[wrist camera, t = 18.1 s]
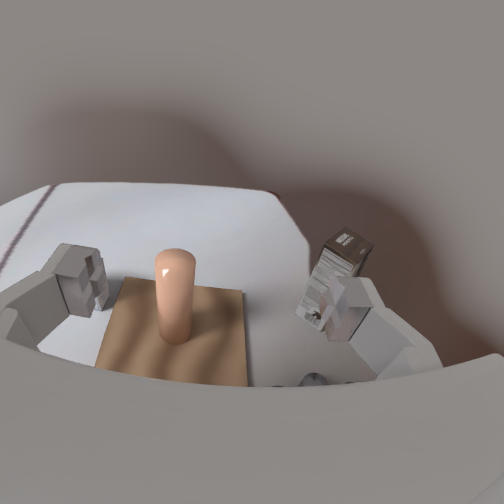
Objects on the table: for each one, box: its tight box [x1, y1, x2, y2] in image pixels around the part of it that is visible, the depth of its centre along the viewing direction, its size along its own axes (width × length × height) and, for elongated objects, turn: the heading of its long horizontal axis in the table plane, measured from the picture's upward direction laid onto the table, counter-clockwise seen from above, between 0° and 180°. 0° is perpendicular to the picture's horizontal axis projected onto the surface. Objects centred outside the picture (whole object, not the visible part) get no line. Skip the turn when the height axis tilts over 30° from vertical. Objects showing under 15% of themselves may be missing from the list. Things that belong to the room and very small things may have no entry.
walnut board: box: [95, 277, 248, 387], centre depth 41 cm, size 22×22×1 cm
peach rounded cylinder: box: [155, 249, 196, 345], centre depth 37 cm, size 5×5×14 cm
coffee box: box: [295, 227, 374, 332], centre depth 47 cm, size 9×6×16 cm
